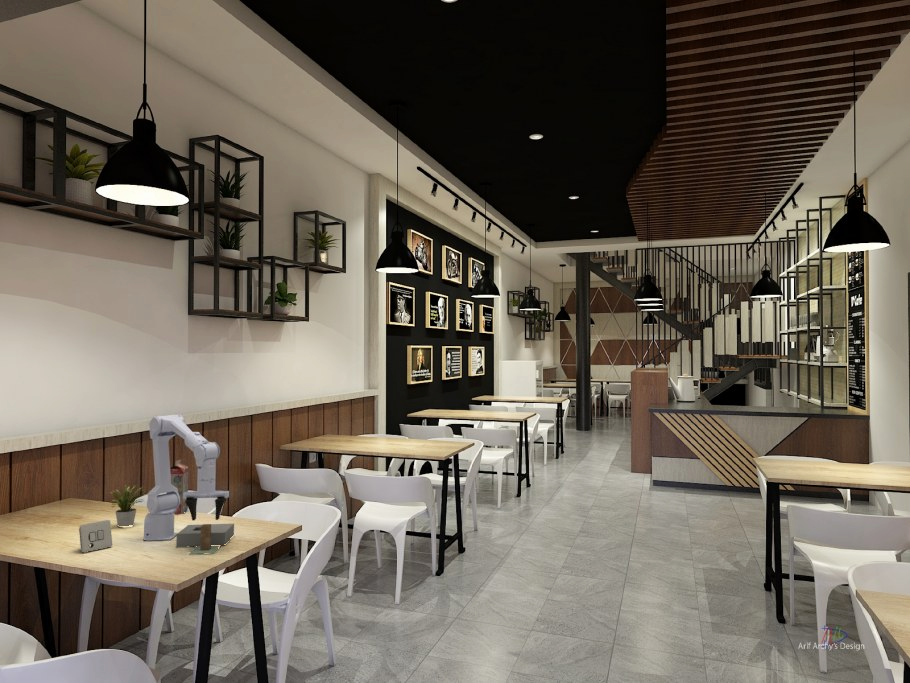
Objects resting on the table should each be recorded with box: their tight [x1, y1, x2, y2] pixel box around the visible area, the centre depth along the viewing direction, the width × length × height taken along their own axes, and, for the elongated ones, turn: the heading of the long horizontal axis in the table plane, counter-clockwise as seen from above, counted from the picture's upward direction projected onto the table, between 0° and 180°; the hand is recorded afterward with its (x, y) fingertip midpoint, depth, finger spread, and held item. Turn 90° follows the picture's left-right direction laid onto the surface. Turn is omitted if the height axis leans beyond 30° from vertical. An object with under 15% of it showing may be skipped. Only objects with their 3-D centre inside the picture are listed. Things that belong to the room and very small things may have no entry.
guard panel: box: [175, 523, 235, 548], centre depth 212 cm, size 16×12×4 cm
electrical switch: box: [78, 519, 113, 553], centre depth 204 cm, size 9×5×9 cm, turn 141°
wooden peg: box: [200, 523, 212, 551], centre depth 202 cm, size 3×3×8 cm
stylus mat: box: [188, 546, 219, 555], centre depth 202 cm, size 8×8×1 cm
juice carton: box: [165, 459, 189, 515], centre depth 255 cm, size 7×7×22 cm
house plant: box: [109, 484, 148, 526], centre depth 231 cm, size 14×14×16 cm
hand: (205, 519), depth 204 cm, fingers open, 7 cm apart
